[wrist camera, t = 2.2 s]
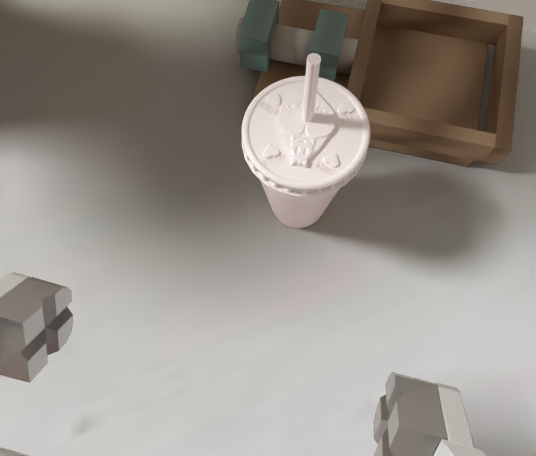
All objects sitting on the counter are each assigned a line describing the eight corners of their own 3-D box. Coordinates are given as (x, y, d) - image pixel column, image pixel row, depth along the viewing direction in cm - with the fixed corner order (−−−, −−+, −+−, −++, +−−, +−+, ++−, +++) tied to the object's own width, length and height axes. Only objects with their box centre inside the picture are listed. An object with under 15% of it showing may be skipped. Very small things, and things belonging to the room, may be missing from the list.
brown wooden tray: (222, 115, 33) (215, 79, 29) (260, 2, 36) (257, -44, 32) (489, 171, 31) (520, 141, 27) (503, 46, 35) (532, 3, 31)
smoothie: (349, 168, 32) (399, 15, 18) (338, 254, 30) (387, 153, 16) (260, 155, 32) (246, -2, 19) (243, 239, 30) (216, 130, 17)
